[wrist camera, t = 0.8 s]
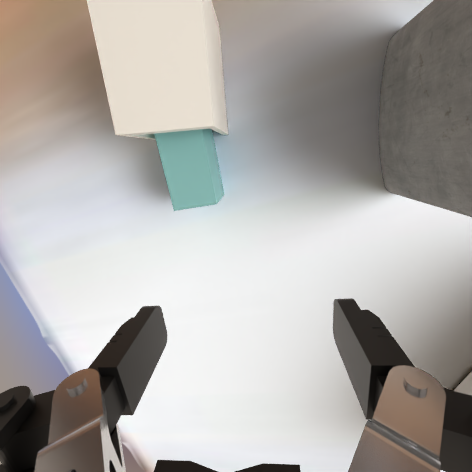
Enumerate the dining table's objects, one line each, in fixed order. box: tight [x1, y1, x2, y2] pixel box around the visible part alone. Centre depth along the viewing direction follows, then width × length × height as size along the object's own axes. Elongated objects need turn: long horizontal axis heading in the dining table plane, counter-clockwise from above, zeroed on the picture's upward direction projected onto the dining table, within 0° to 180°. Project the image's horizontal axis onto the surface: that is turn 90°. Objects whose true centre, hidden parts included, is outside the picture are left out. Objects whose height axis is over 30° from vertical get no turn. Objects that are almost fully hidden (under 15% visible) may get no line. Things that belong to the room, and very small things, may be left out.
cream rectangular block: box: [87, 0, 228, 140], centre depth 22 cm, size 10×8×10 cm
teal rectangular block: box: [155, 129, 224, 211], centre depth 26 cm, size 14×4×6 cm, turn 10°
